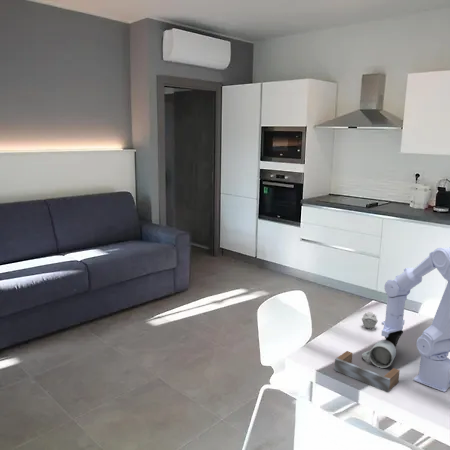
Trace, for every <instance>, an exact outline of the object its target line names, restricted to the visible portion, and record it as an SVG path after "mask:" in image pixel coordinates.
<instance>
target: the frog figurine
mask: <svg viewBox="0 0 450 450" xmlns="http://www.w3.org/2000/svg"><path fill="white" fill-rule="evenodd" d="M361 321H362V324H363V326H364V327H365V328H367V329H373V328H375V326H376V325H377V323H378V317H377V315H376V314H375V313H373V312H372V311H368V312H365V313H364V314H363V315H362V318H361Z"/></svg>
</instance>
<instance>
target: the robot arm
mask: <svg viewBox="0 0 450 450" xmlns="http://www.w3.org/2000/svg"><path fill="white" fill-rule="evenodd" d="M435 269H437V271H438V272H439V273H440V274H441V276H442V278H444V280H446V281H447V284H446V286H445V289H444V291H443V294H442V297H441V299H440V302H439V305H438V306H437V309H436V311H435V315H434V317H433V320H432V323H431V325H430V326H428V327H427V328H426V329H424V330H423V332H422V334H421V335H419V337H418V338H416V339H417V340H416V349H417V351H418V353H419V354H420V360H419V368H418V369H419V370H418V373H417V374H416V376H414V378H413V381H415V382H417V383H419V384H422V385H425V386H427V387H430V388H433V389H436V390H438V391H440V392H443V393H445V392H447V390H449V388H450V358H449V357H448V356H449V353H450V247H437V248H436V249H434V250H433V251H431V252H429V255H428V256H427V257H426V258H424V260H422V261H421V262H420V263H419V264H417V266H416V267H406V268H404V269H403V272H402V273H400V274H397V275H396V276H395V278H394V279H388V280H387V281H386V282H385V284H384V292H385V294H386V295H387V296H386V297H387V298H386V308H385V318H384V319H385V320H382V322H381V325H383V329H382V330H381V337H384V338H385V340H388V341H390V342H391V343H393V344H394V346H395V348H396V349H397V345H398V342H399V340H400V338H401V336H402V335H403V334H404V330H403V329H404V325H405V319H404V314H405V305H406V300H407V298H408V295H409V294H410V293H411V290H412V289H414V288H415V287H416V286H418V285H419V284H420V283H422V281H423V277H424V276H426V275H427V274H429V273H430V272H431V271H434V270H435Z"/></svg>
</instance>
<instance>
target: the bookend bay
mask: <svg viewBox="0 0 450 450" xmlns="http://www.w3.org/2000/svg"><path fill="white" fill-rule="evenodd" d="M352 362H353V352H351V351H348V350H346V351H344V352H343V353H342V354H341V355H339V356H337V357H336V358H334V371H335V372H338V373H341V374H343V375H346V376H347V377H350V378H352V379H355V380H357V381H360V382H362V383H364V384H367V385H369V386H371V387H374V388H377V389H379V390H382V391H384V392H386V393H389V392H390V391H391V390H392V389H393V388H394V387H395V386H396V385H397V384H398V383H399V381H400V380H399V379H400V369H398V368H395V367H393V368H392V369H391V370H389V372H387V373H386V374H384V375H382V374H379V373H377V372H374V371H372V370H369V369H366V368H364V367H361V366H359V365H356V364H353V363H352Z"/></svg>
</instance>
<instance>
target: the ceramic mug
mask: <svg viewBox="0 0 450 450" xmlns="http://www.w3.org/2000/svg"><path fill="white" fill-rule="evenodd" d="M396 355H397V347H396V348H395V346H394V344H393V343H391V342H390V341H388V340H386V339H382V340H378V341H377V342H376V343H375V344H374V345H373V346H372V347H371V348H370V350H367V351H364V352H363V353H362V354H361V356H362V358H363V360H364V361H370V362H371V363H372V365H374V366H375V367H377V368H379V367H380V368H381V369H386V368H388V367H390V366H392V364H393V362H394V359H395V357H396ZM380 368H379V369H380Z"/></svg>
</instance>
